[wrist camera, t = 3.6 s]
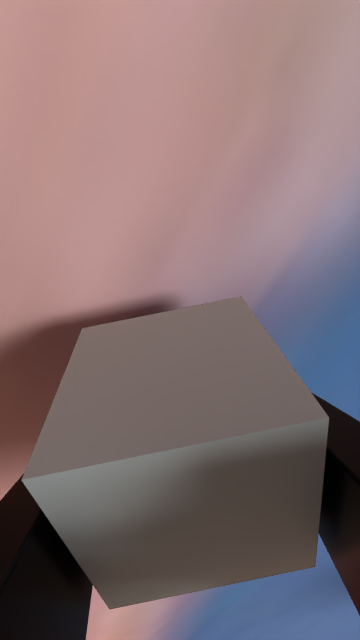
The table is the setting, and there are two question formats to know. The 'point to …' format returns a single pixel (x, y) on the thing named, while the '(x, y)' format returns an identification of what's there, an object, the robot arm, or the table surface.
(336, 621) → the table surface
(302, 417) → the cube
